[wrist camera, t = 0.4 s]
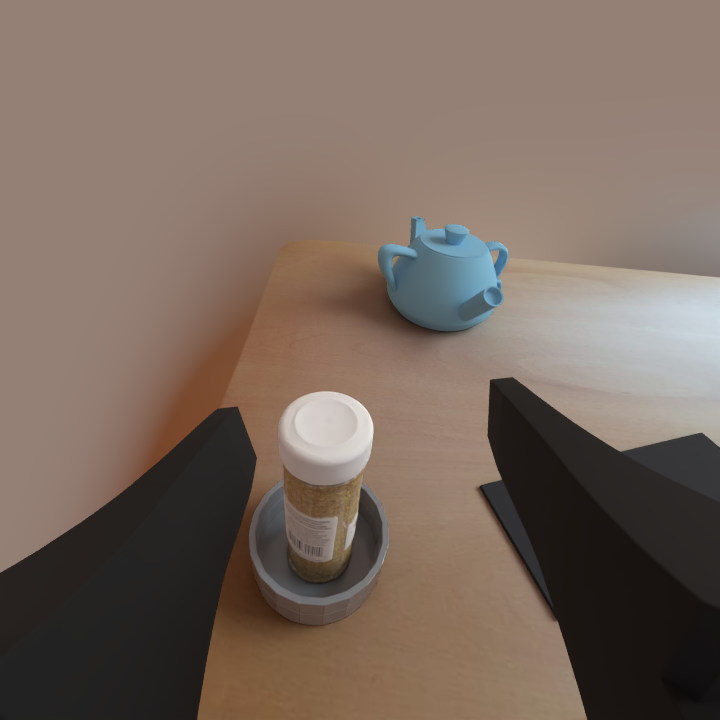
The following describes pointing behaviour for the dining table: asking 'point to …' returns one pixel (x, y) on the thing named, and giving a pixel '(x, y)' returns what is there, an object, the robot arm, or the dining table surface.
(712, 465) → the mat
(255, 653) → the dining table surface
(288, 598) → the basin
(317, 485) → the sprinkles bottle
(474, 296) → the teapot
